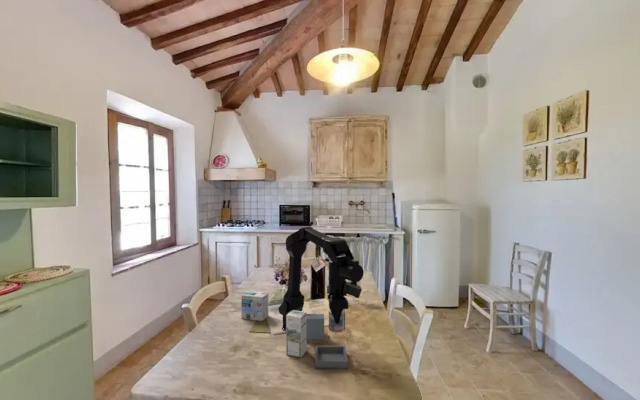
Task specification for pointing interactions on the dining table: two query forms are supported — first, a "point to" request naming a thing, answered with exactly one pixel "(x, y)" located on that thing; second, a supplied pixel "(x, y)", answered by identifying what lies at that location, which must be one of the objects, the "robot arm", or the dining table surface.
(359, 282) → the wineglass
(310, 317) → the mounted unit
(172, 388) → the dining table surface
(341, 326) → the pill bottle
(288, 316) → the syrup box
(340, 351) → the parts tray
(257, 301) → the light bulb box
